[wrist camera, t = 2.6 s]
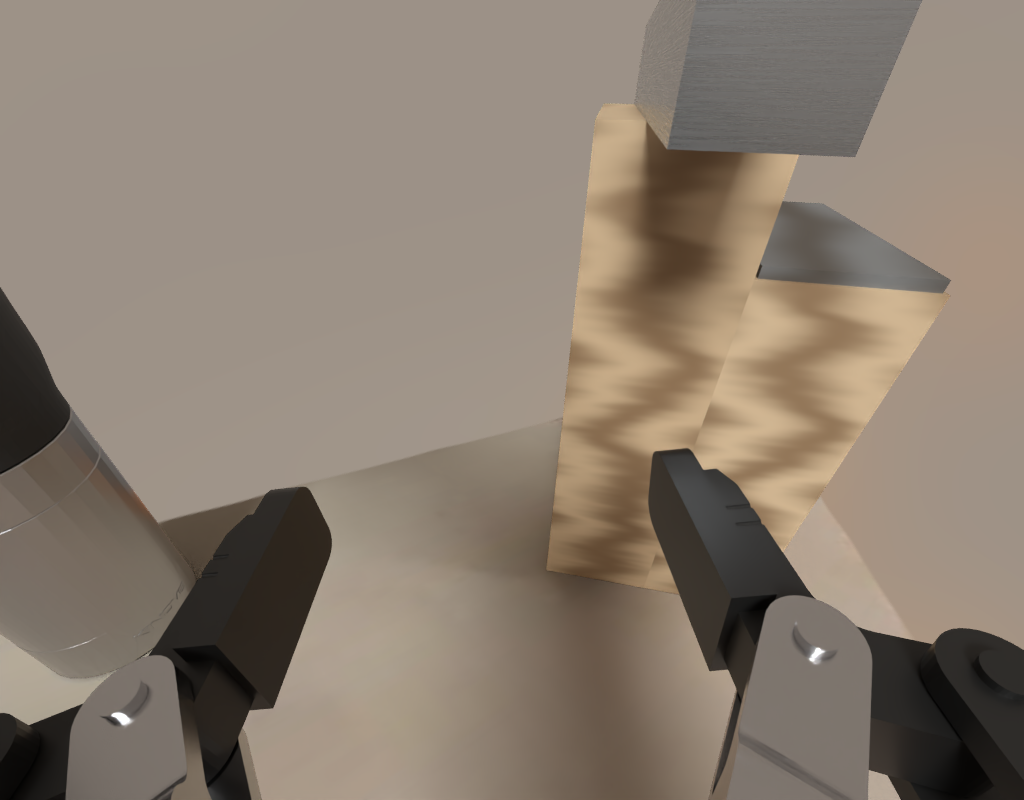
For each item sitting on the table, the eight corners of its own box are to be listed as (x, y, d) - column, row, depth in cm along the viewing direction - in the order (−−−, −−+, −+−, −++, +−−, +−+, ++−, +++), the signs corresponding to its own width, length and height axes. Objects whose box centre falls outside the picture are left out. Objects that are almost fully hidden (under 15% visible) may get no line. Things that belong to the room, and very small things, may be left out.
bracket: (546, 570, 37) (595, 119, 18) (563, 450, 48) (604, 103, 29) (747, 606, 34) (1055, 133, 15) (713, 471, 46) (863, 110, 27)
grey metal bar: (666, 149, 10) (718, -109, 8) (634, 104, 29) (646, 25, 27) (855, 156, 10) (973, -119, 7) (696, 106, 28) (714, 25, 26)
